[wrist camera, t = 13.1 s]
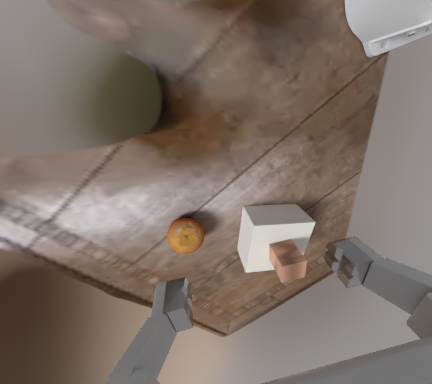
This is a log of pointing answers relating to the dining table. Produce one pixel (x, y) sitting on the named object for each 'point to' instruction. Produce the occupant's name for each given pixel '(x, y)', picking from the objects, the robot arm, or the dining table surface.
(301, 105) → the dining table surface
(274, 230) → the cream box
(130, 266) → the dining table surface
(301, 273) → the terracotta block
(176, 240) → the fruit
